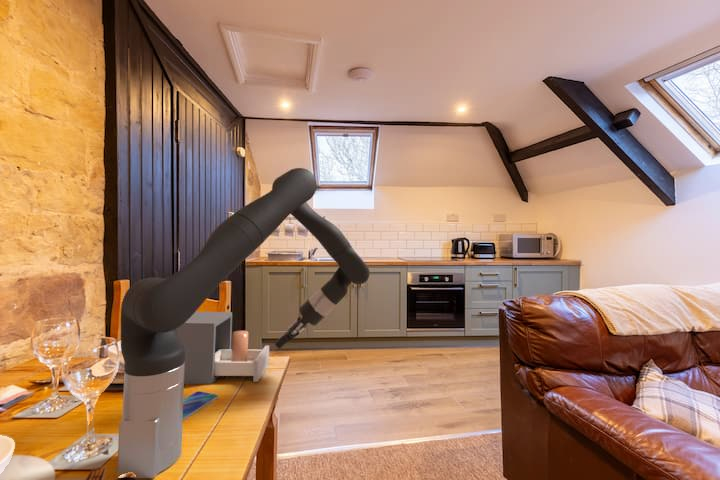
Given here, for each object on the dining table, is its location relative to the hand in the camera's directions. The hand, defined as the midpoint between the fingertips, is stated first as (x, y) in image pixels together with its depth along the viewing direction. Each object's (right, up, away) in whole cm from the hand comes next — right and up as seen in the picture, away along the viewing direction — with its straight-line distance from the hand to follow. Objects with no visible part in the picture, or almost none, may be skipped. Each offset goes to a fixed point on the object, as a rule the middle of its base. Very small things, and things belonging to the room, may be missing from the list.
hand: (277, 345), depth 94 cm
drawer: (-12, -8, -1) cm, 14 cm away
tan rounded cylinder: (-11, -6, -1) cm, 13 cm away
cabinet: (-25, -8, -2) cm, 26 cm away
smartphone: (-16, -8, -21) cm, 28 cm away
